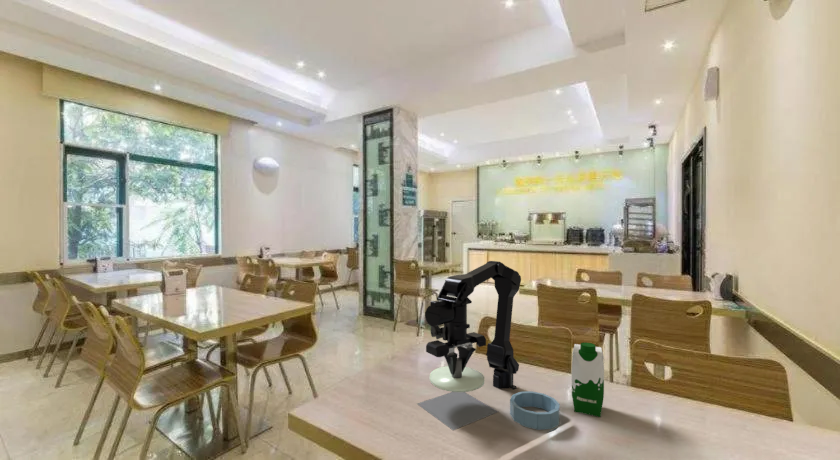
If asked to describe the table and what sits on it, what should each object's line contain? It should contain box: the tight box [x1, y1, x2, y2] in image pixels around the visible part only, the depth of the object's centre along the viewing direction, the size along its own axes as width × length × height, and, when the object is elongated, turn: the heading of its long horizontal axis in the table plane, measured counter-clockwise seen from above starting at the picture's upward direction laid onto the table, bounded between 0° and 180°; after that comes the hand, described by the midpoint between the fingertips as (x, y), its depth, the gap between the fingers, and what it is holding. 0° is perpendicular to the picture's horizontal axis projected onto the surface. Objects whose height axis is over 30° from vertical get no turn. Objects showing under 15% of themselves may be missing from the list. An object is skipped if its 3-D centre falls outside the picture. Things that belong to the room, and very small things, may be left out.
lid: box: [429, 357, 485, 393], centre depth 107 cm, size 16×16×6 cm
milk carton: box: [571, 341, 605, 418], centre depth 109 cm, size 9×9×20 cm
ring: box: [509, 390, 561, 433], centre depth 103 cm, size 13×13×5 cm
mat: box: [416, 391, 499, 431], centre depth 107 cm, size 17×17×1 cm
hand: (456, 372), depth 107 cm, fingers closed on lid, 3 cm apart
